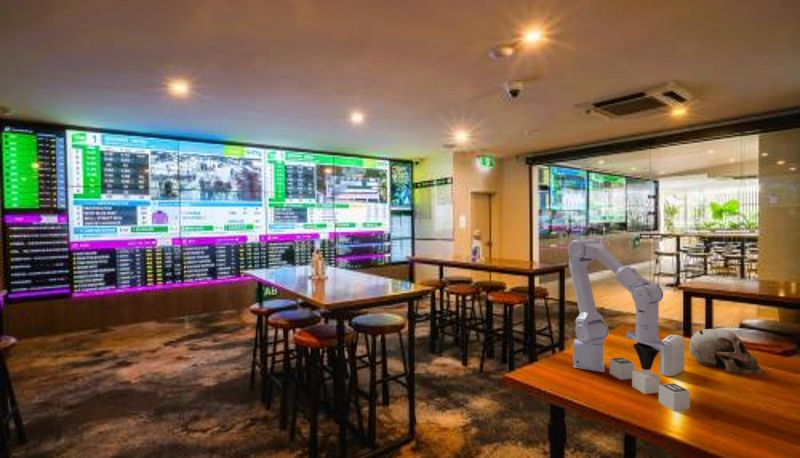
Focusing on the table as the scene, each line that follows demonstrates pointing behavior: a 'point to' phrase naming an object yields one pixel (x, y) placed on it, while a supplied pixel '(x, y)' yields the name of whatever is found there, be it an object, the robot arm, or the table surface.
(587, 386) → the table surface
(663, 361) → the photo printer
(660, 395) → the marked block 2
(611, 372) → the marked block 1
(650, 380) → the plain block
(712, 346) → the grey skull
